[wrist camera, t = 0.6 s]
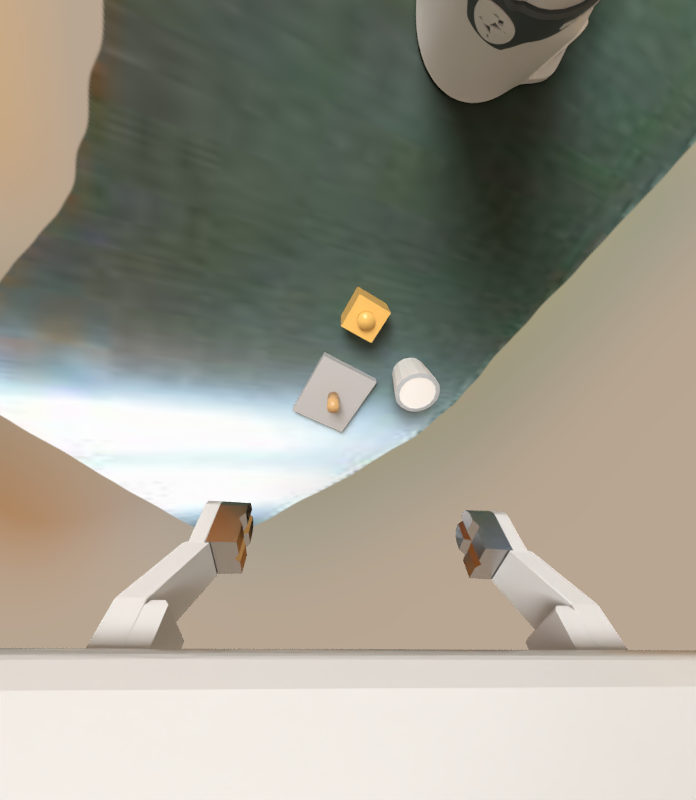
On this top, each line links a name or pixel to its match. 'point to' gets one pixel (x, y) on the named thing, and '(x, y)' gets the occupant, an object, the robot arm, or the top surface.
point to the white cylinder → (414, 385)
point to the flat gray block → (333, 392)
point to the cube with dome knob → (364, 315)
